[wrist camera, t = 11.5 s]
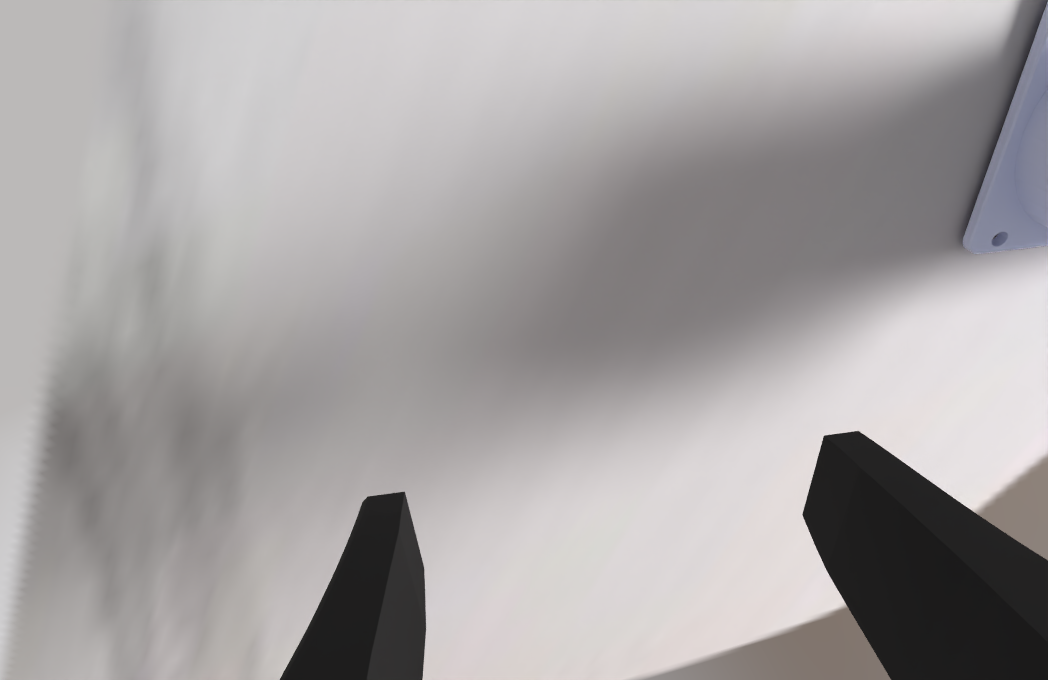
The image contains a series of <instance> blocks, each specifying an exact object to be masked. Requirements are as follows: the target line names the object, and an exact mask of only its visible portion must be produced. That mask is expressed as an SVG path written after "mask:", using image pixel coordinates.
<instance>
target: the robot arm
mask: <svg viewBox="0 0 1048 680" xmlns="http://www.w3.org/2000/svg"><path fill="white" fill-rule="evenodd" d="M998 233H999V234H998ZM997 234H998V235H997ZM995 235H997V237H996V238H994V236H995ZM993 238H994V239H993ZM992 239H993V240H992ZM963 246H964V248H966V249H967V250H969V251H971V252H972V253H974V254H983V253H992V252H1000V251H1009V250H1017V249H1025V248H1034V247H1042V246H1048V2H1047V5H1046V8H1045V10H1044V13H1043V16H1042V19H1041V22H1040V24H1039V27H1038V30H1037V33H1036V36H1035V38H1034V41H1033V44H1032V47H1031V50H1030V52H1029V55H1028V58H1027V61H1026V64H1025V66H1024V69H1023V72H1022V75H1021V78H1020V80H1019V83H1018V86H1017V89H1016V92H1015V94H1014V97H1013V100H1012V103H1011V106H1010V108H1009V111H1008V114H1007V117H1006V120H1005V122H1004V125H1003V128H1002V131H1001V134H1000V136H999V139H998V142H997V145H996V148H995V150H994V153H993V156H992V159H991V162H990V164H989V167H988V170H987V173H986V176H985V178H984V181H983V184H982V187H981V190H980V192H979V195H978V198H977V201H976V204H975V206H974V209H973V212H972V215H971V218H970V220H969V223H968V226H967V229H966V232H965V234H964V237H963ZM803 517H804V520H805V522H806V525H807V527H808V529H809V532H810V534H811V536H812V539H813V541H814V544H815V546H816V548H817V550H818V553H819V555H820V557H821V559H822V561H823V563H824V566H825V568H826V570H827V572H828V574H829V575H830V577H831V579H832V581H833V582H834V584H835V586H836V588H837V589H838V591H839V593H840V594H841V596H842V598H843V599H844V601H845V603H846V605H847V606H848V608H849V610H850V611H851V613H852V615H853V616H854V618H855V620H856V621H857V623H858V625H859V626H860V628H861V630H862V631H863V633H864V635H865V637H866V638H867V640H868V642H869V643H870V645H871V646H872V648H873V650H874V652H875V653H876V655H877V657H878V658H879V660H880V662H881V663H882V665H883V666H884V668H885V670H886V671H887V673H888V675H889V677H890V678H891V680H1048V561H1047V560H1046V559H1045V558H1043V557H1041V556H1040V555H1038V554H1036V553H1035V552H1033V551H1032V550H1030V549H1029V548H1027V547H1026V546H1024V545H1022V544H1021V543H1019V542H1018V541H1016V540H1015V539H1013V538H1012V537H1010V536H1008V535H1007V534H1006V533H1004V532H1003V531H1001V530H1000V529H998V528H997V527H995V526H994V525H992V524H991V523H989V522H988V521H986V520H985V519H983V518H982V517H980V516H979V515H977V514H976V513H974V512H973V511H972V510H970V509H969V508H967V507H966V506H964V505H963V504H961V503H960V502H958V501H957V500H956V499H954V498H953V497H951V496H950V495H948V494H947V493H946V492H944V491H943V490H941V489H940V488H939V487H937V486H936V485H934V484H933V483H931V482H930V481H929V480H927V479H926V478H924V477H923V476H922V475H920V474H919V473H917V472H916V471H915V470H913V469H912V468H910V467H909V466H908V465H906V464H905V463H903V462H902V461H901V460H899V459H898V458H896V457H895V456H894V455H892V454H891V453H889V452H888V451H887V450H885V449H884V448H882V447H881V446H879V445H878V444H877V443H875V442H874V441H872V440H871V439H869V438H868V437H866V436H865V435H863V434H862V433H860V432H859V431H855V432H848V433H840V434H833V435H825V436H824V438H823V441H822V445H821V449H820V452H819V456H818V460H817V463H816V467H815V471H814V474H813V478H812V482H811V485H810V489H809V493H808V496H807V500H806V504H805V507H804V511H803ZM425 635H426V612H425V579H424V566H423V562H422V558H421V554H420V550H419V546H418V542H417V538H416V534H415V530H414V526H413V522H412V518H411V514H410V511H409V507H408V503H407V499H406V495H405V492H399V493H392V494H384V495H377V496H369V497H367V498H366V499H365V500H364V501H363V502H362V505H361V508H360V511H359V514H358V517H357V519H356V522H355V524H354V527H353V530H352V532H351V535H350V537H349V540H348V542H347V545H346V547H345V549H344V552H343V554H342V556H341V559H340V561H339V563H338V565H337V568H336V570H335V572H334V574H333V577H332V579H331V581H330V583H329V585H328V587H327V589H326V591H325V593H324V596H323V598H322V600H321V602H320V604H319V606H318V608H317V610H316V612H315V614H314V616H313V618H312V620H311V622H310V624H309V626H308V628H307V630H306V632H305V634H304V636H303V638H302V640H301V641H300V643H299V645H298V647H297V649H296V651H295V653H294V654H293V656H292V658H291V660H290V662H289V664H288V665H287V667H286V669H285V671H284V673H283V675H282V677H281V678H280V680H422V677H423V663H424V649H425Z"/></svg>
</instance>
